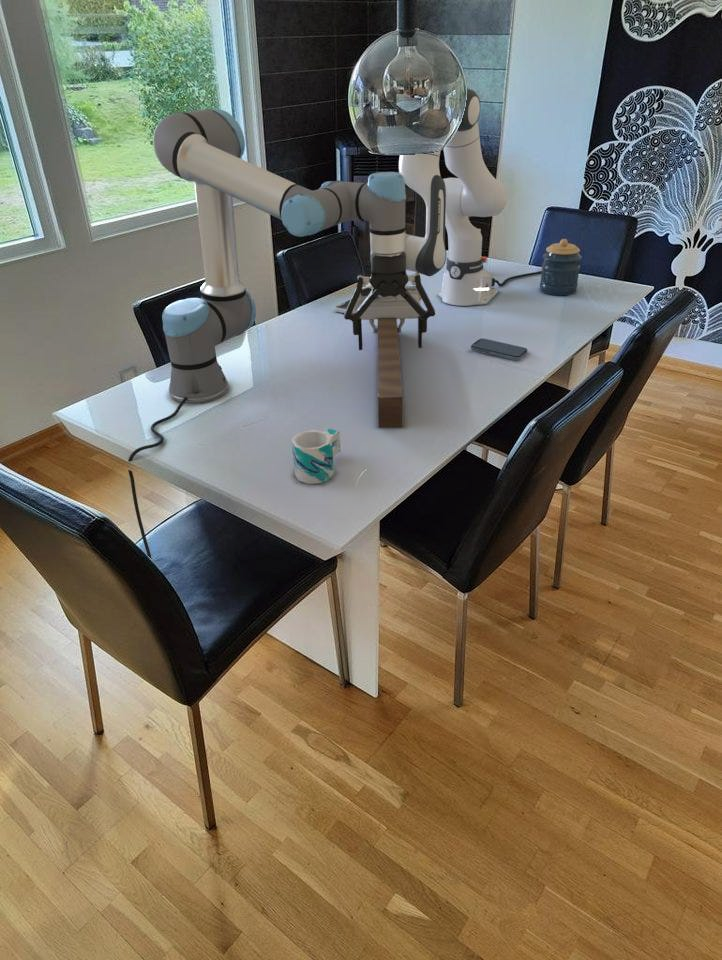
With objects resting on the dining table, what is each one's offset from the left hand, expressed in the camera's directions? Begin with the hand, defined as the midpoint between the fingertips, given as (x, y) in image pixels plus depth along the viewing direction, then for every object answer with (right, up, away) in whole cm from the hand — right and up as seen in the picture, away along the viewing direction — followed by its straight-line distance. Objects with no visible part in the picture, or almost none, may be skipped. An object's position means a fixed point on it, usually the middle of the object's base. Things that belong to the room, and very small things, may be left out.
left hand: (390, 346), depth 154 cm
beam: (+1, -1, +30) cm, 30 cm away
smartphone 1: (-9, +29, +77) cm, 82 cm away
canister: (+63, +37, +84) cm, 112 cm away
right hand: (+1, +14, +48) cm, 50 cm away
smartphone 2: (+33, +6, +39) cm, 51 cm away
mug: (-15, -28, -11) cm, 34 cm away
